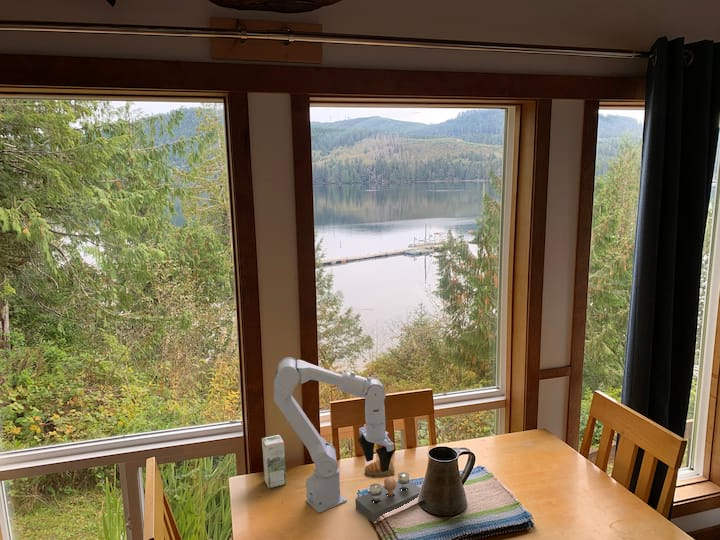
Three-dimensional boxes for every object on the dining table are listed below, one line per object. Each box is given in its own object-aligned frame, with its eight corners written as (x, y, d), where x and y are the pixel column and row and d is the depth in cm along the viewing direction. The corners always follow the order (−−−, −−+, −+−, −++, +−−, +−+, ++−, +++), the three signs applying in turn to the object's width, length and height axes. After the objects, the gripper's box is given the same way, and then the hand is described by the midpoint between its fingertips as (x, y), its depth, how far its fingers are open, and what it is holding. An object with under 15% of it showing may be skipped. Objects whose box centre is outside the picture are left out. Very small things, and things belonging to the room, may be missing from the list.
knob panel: (374, 523, 143) (373, 513, 143) (355, 508, 151) (355, 498, 150) (425, 500, 153) (424, 490, 153) (405, 487, 161) (405, 478, 160)
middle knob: (389, 500, 150) (388, 484, 149) (382, 495, 152) (381, 480, 152) (398, 496, 151) (397, 481, 151) (391, 491, 154) (390, 476, 153)
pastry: (367, 480, 167) (367, 468, 166) (362, 469, 173) (361, 458, 173) (396, 475, 169) (395, 463, 168) (389, 465, 175) (389, 454, 175)
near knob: (374, 506, 147) (374, 490, 146) (368, 501, 149) (367, 486, 149) (384, 502, 149) (383, 487, 148) (377, 497, 151) (376, 482, 151)
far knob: (403, 494, 152) (402, 479, 152) (396, 489, 155) (395, 474, 154) (411, 490, 154) (411, 475, 153) (404, 486, 157) (404, 471, 156)
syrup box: (281, 476, 171) (278, 433, 169) (286, 485, 165) (283, 440, 163) (264, 480, 168) (261, 437, 167) (268, 489, 163) (265, 444, 161)
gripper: (401, 425, 150) (403, 470, 152) (371, 410, 162) (373, 452, 164) (381, 432, 147) (383, 478, 148) (352, 416, 158) (354, 459, 160)
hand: (377, 465), depth 156 cm, fingers open, 7 cm apart
